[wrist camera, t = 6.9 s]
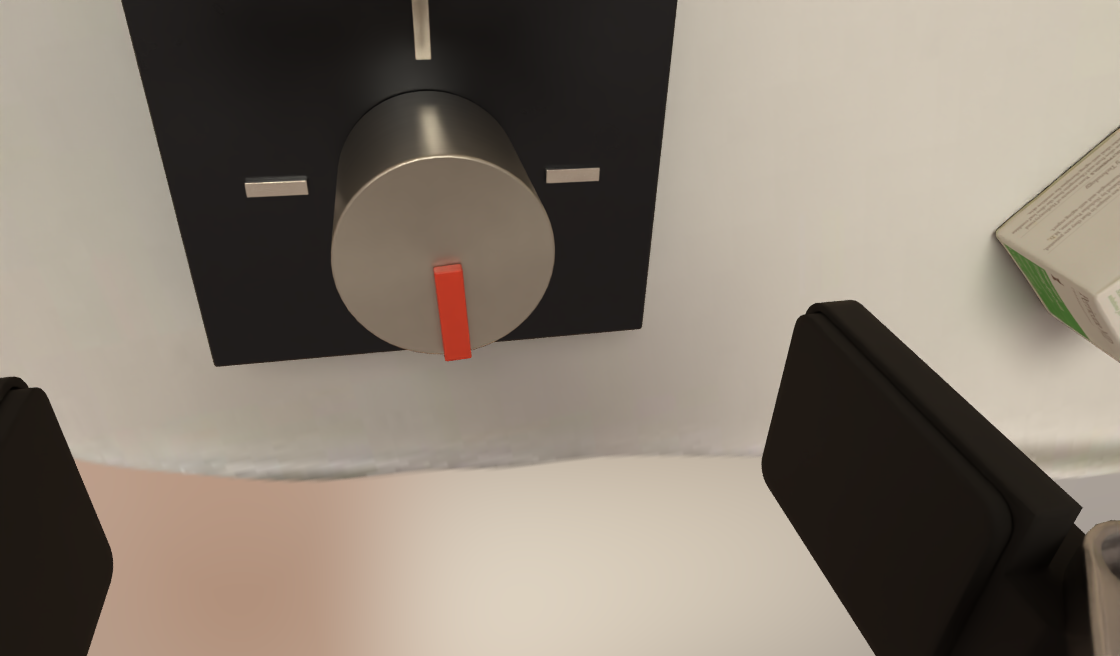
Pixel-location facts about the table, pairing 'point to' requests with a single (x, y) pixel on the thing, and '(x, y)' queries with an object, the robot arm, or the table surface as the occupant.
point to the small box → (1075, 246)
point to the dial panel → (352, 91)
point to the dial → (437, 227)
